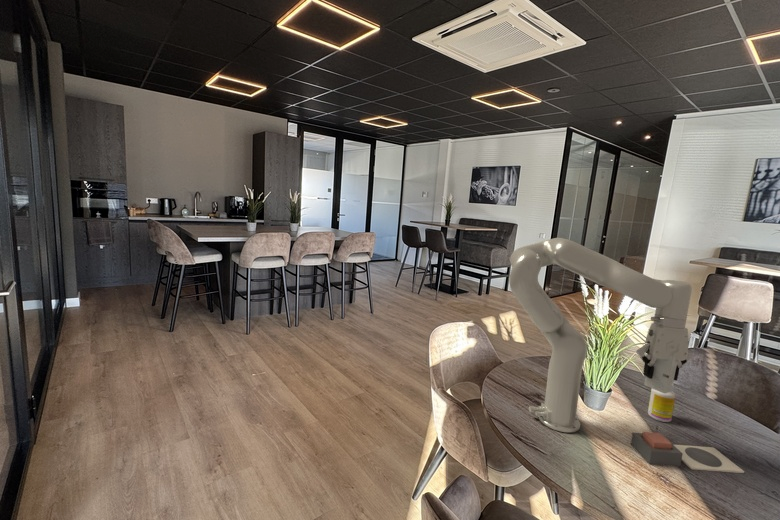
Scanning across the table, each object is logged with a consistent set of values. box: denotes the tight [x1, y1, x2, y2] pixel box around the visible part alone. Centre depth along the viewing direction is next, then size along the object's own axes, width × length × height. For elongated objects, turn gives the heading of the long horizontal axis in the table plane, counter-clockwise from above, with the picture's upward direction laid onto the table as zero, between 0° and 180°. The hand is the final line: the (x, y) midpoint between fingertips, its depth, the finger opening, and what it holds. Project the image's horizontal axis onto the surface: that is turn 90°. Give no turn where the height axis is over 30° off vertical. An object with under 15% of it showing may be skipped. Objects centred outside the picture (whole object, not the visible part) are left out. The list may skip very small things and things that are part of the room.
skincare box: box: [644, 355, 678, 394], centre depth 110 cm, size 6×4×12 cm
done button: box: [642, 431, 673, 449], centre depth 103 cm, size 5×5×3 cm
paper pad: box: [673, 444, 745, 474], centre depth 103 cm, size 14×10×1 cm
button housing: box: [630, 432, 683, 467], centre depth 103 cm, size 8×8×4 cm
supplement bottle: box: [647, 384, 676, 423], centre depth 123 cm, size 7×7×13 cm
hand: (660, 377), depth 111 cm, fingers closed on skincare box, 6 cm apart
